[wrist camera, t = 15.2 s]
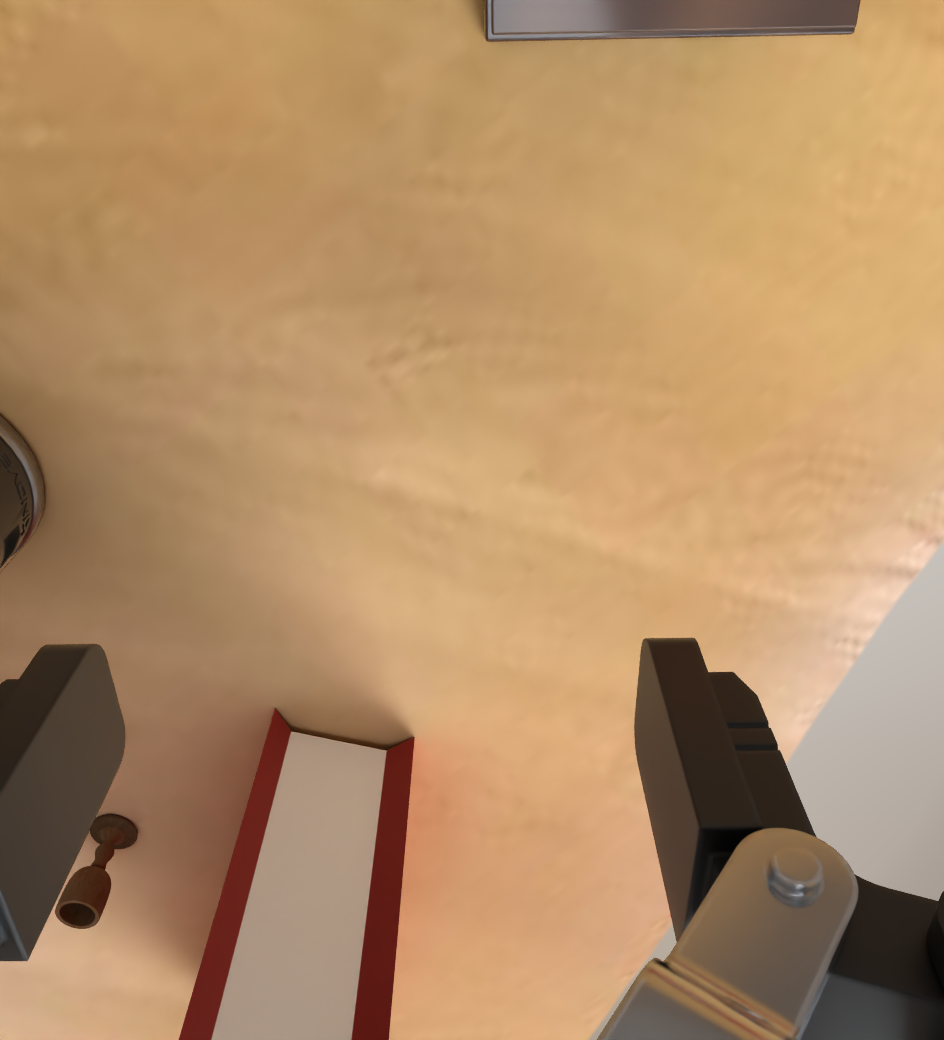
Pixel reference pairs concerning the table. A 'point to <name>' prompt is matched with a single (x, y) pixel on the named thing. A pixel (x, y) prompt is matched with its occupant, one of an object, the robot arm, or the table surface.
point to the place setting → (94, 874)
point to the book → (309, 897)
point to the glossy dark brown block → (664, 18)
